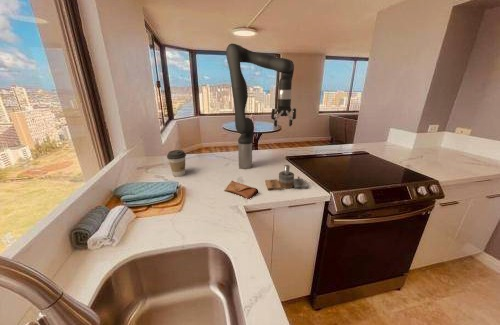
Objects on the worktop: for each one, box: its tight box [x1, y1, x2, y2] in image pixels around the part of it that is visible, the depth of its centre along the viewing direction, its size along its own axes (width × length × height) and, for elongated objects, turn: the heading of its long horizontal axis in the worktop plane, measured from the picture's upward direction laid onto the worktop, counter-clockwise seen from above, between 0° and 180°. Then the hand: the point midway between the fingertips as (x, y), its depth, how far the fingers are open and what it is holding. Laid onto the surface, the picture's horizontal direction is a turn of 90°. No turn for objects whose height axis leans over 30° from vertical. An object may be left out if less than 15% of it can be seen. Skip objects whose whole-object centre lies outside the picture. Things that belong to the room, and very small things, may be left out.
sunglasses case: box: [223, 180, 259, 200], centre depth 113 cm, size 18×7×7 cm, turn 57°
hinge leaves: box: [264, 170, 309, 191], centre depth 119 cm, size 22×10×7 cm, turn 95°
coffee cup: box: [166, 149, 187, 178], centre depth 132 cm, size 11×11×15 cm
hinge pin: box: [283, 164, 291, 176], centre depth 118 cm, size 3×3×12 cm
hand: (282, 126), depth 126 cm, fingers open, 8 cm apart
